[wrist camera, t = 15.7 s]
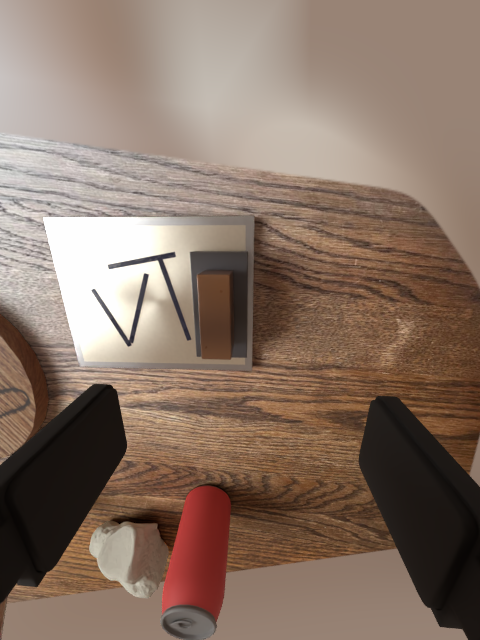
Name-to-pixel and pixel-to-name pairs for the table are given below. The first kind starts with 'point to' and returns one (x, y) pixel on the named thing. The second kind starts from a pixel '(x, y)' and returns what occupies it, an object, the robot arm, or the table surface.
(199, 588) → the beer can
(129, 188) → the table surface
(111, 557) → the decorative stone
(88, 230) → the whiteboard
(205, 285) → the eraser
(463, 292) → the table surface
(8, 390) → the trivet
